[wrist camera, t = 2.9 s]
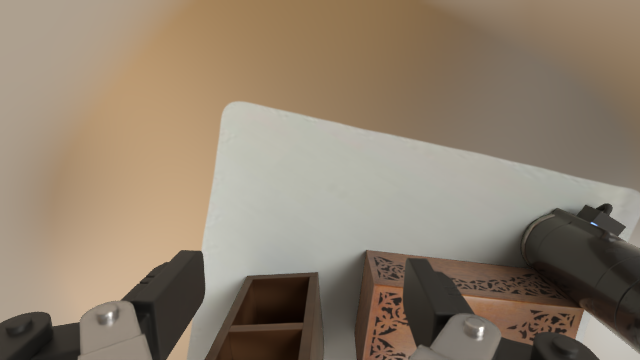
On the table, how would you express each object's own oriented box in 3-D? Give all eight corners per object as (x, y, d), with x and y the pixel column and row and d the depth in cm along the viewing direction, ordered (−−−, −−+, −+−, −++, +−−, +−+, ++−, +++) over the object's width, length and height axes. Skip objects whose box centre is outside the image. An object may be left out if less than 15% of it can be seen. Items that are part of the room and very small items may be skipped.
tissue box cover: (354, 332, 55) (358, 382, 45) (366, 250, 51) (374, 284, 42) (514, 351, 54) (554, 405, 44) (536, 269, 51) (584, 308, 41)
